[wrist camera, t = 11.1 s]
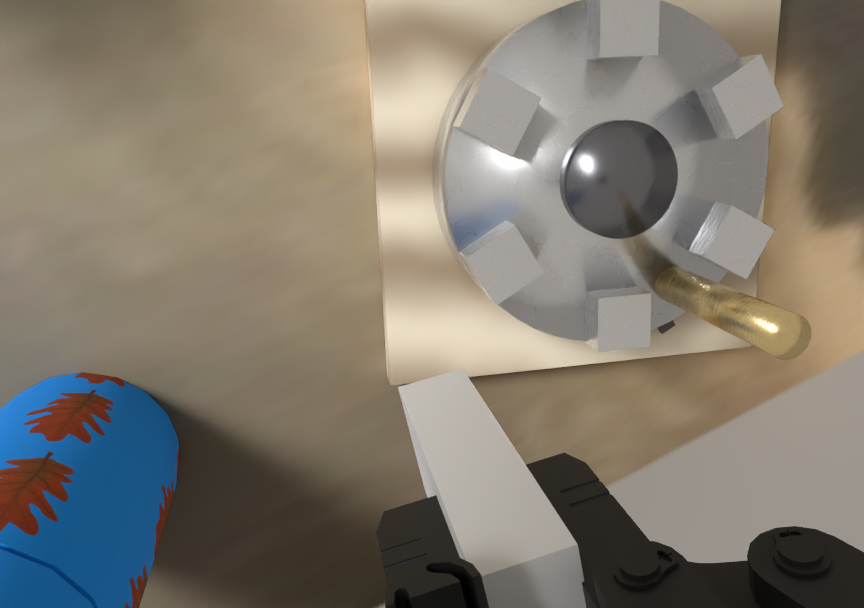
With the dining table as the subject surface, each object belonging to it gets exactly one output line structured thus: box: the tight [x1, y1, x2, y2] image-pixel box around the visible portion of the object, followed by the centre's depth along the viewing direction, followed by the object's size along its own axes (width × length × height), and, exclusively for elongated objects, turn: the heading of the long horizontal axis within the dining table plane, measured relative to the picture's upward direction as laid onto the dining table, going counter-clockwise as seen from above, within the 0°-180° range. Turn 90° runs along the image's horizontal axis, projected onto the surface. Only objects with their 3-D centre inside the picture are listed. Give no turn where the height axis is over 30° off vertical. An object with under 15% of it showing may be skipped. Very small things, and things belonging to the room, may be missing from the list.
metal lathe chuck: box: [432, 0, 811, 360], centre depth 34 cm, size 18×18×14 cm
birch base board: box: [364, 0, 781, 385], centre depth 42 cm, size 24×24×2 cm
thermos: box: [0, 373, 180, 608], centre depth 30 cm, size 11×11×25 cm
